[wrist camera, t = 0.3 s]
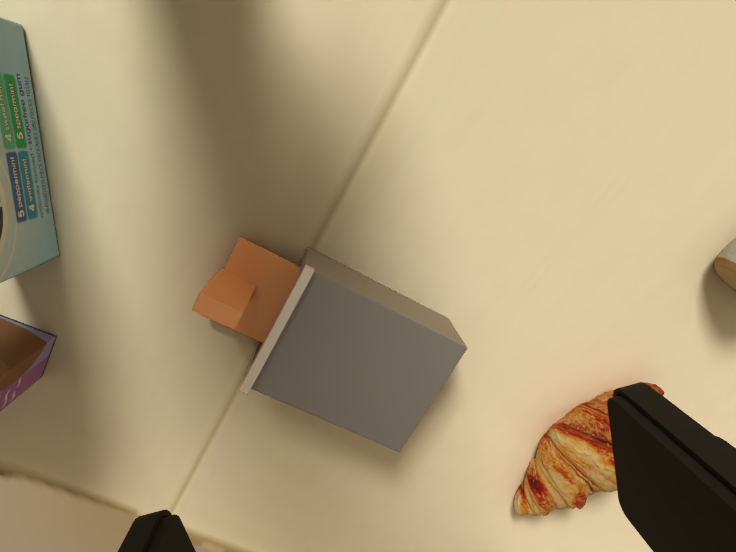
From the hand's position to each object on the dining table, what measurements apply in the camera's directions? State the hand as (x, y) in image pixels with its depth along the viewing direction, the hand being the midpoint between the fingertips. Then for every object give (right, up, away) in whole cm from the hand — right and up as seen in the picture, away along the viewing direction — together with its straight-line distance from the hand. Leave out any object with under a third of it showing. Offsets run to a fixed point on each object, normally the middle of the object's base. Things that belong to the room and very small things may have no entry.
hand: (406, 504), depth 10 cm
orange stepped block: (-8, +1, +35) cm, 36 cm away
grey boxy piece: (-2, -1, +38) cm, 38 cm away
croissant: (+23, -14, +44) cm, 51 cm away
